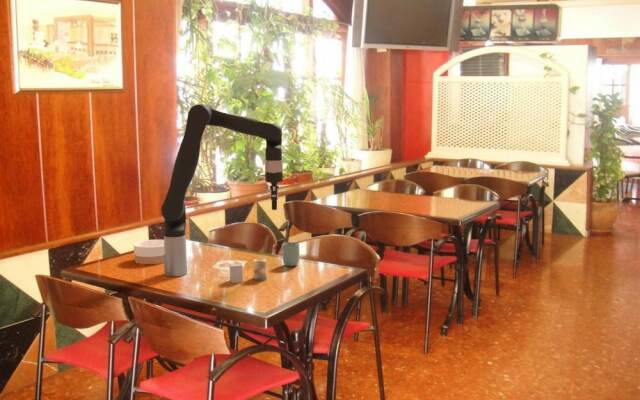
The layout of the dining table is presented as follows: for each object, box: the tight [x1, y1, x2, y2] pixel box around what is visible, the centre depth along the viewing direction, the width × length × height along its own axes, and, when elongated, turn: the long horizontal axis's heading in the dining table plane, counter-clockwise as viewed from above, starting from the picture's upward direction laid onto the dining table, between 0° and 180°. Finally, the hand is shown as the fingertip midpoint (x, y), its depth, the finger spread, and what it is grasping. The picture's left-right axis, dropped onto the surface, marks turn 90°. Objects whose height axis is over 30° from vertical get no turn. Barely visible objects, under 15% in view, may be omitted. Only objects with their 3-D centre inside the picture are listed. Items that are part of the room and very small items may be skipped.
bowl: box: [133, 239, 165, 265], centre depth 331 cm, size 17×17×8 cm
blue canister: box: [253, 258, 268, 281], centre depth 295 cm, size 5×5×8 cm
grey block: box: [229, 262, 244, 284], centre depth 292 cm, size 4×4×7 cm
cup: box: [281, 241, 300, 267], centre depth 316 cm, size 8×8×10 cm
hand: (274, 208), depth 301 cm, fingers open, 8 cm apart
